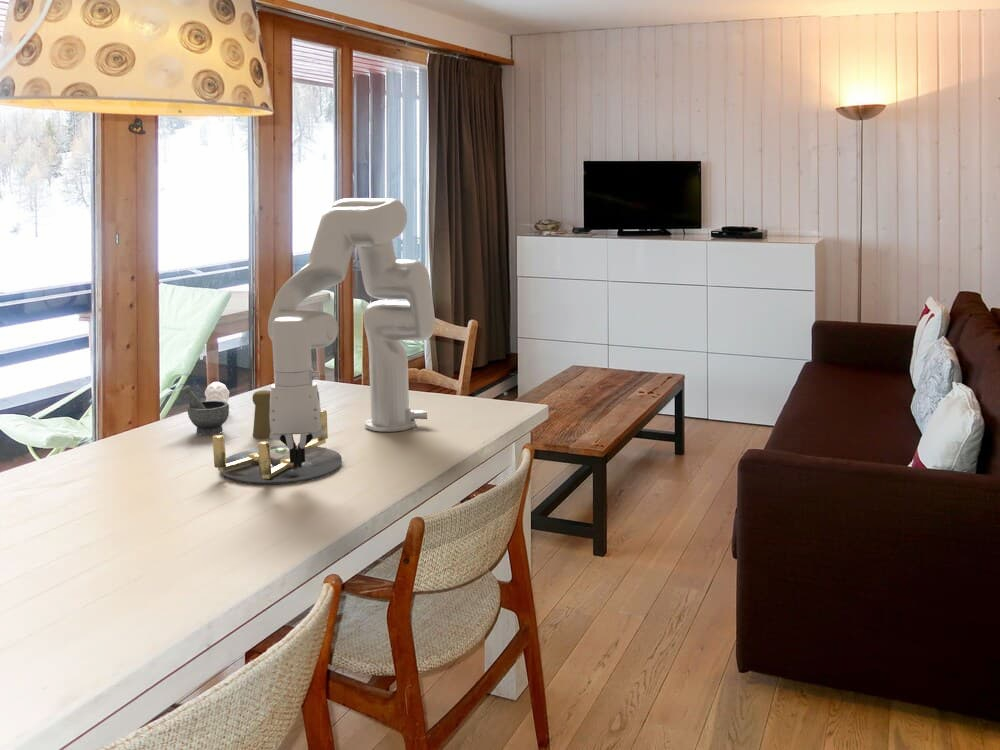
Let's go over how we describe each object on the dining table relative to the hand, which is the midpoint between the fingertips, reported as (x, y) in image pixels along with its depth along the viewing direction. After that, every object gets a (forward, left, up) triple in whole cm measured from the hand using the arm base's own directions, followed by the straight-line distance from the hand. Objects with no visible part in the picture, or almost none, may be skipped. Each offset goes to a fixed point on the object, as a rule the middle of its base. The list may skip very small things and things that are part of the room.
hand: (297, 465), depth 209 cm
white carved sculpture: (+30, -60, -4) cm, 67 cm away
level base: (+6, -13, -4) cm, 15 cm away
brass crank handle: (+5, -4, -3) cm, 7 cm away
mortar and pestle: (+29, -44, -4) cm, 53 cm away
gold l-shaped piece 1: (+13, -10, -2) cm, 17 cm away
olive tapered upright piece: (+14, -40, -4) cm, 42 cm away
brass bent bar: (+1, -21, -2) cm, 22 cm away
